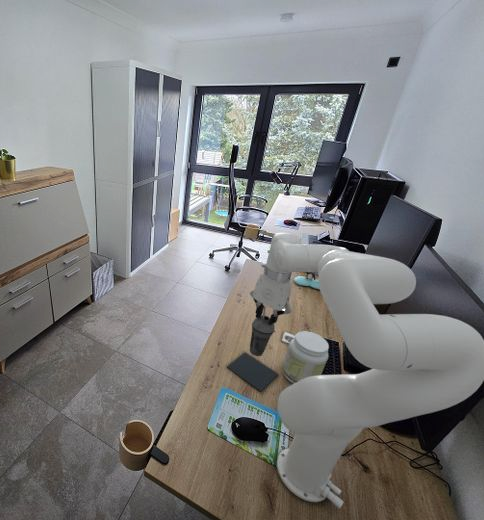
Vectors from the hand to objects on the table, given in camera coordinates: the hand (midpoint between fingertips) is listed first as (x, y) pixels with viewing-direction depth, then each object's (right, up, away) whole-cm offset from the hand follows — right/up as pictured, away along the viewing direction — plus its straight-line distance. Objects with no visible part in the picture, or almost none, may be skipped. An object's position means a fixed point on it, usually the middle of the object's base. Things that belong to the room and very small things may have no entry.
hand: (265, 319), depth 97 cm
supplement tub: (+17, -23, +10) cm, 31 cm away
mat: (0, -22, +12) cm, 25 cm away
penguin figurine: (+57, +5, +67) cm, 88 cm away
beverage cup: (0, -13, +7) cm, 15 cm away
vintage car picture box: (+27, -16, +25) cm, 40 cm away
